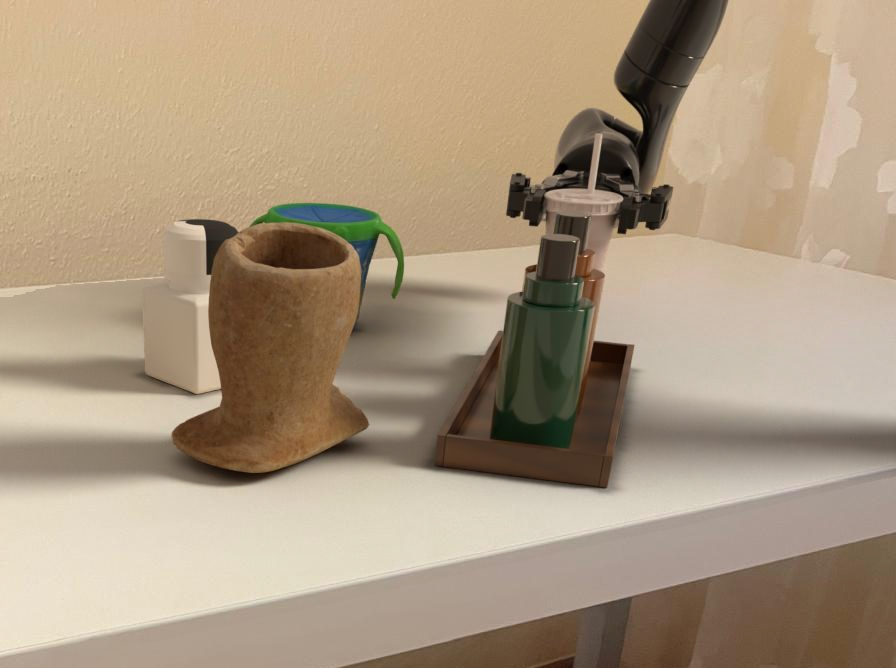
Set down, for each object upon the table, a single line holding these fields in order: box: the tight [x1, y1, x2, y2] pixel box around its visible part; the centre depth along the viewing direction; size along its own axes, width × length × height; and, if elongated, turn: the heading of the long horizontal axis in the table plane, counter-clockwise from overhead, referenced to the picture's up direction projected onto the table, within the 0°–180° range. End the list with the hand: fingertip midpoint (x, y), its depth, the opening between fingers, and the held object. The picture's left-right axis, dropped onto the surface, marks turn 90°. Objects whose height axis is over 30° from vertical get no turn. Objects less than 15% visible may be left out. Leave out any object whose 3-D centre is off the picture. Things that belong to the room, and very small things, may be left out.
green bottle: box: [489, 233, 595, 449], centre depth 84 cm, size 6×6×14 cm
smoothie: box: [542, 134, 623, 272], centre depth 97 cm, size 6×6×14 cm
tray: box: [434, 330, 635, 489], centre depth 96 cm, size 31×12×2 cm, turn 164°
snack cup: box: [248, 202, 405, 329], centre depth 113 cm, size 16×10×10 cm
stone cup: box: [171, 222, 370, 474], centre depth 82 cm, size 15×12×15 cm
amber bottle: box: [521, 211, 606, 413], centre depth 92 cm, size 6×6×14 cm
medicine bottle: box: [141, 218, 240, 395], centre depth 97 cm, size 7×7×12 cm
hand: (579, 216), depth 95 cm, fingers closed on smoothie, 6 cm apart
